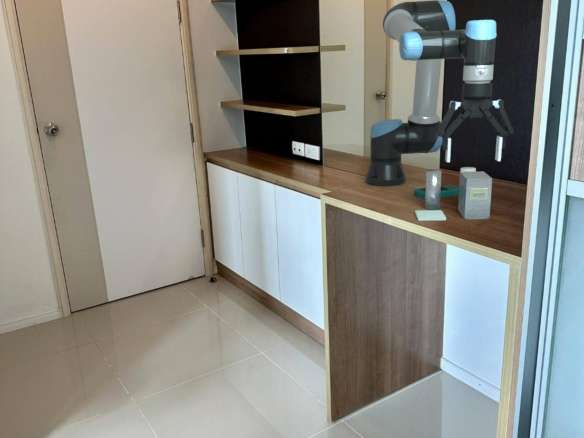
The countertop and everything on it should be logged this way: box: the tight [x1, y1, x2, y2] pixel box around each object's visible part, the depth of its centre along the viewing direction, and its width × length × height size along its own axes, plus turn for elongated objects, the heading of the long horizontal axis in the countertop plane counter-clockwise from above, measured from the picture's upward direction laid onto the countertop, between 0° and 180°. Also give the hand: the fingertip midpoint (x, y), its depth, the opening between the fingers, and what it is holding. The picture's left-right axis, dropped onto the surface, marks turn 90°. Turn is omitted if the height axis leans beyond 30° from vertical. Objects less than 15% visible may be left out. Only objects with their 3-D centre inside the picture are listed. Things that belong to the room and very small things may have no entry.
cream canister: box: [459, 166, 477, 173], centre depth 169 cm, size 5×5×12 cm
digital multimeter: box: [413, 184, 459, 201], centre depth 185 cm, size 7×15×3 cm, turn 107°
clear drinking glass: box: [424, 169, 442, 210], centre depth 168 cm, size 5×5×12 cm
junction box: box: [457, 170, 493, 220], centre depth 160 cm, size 11×7×12 cm, turn 174°
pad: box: [414, 209, 447, 222], centre depth 161 cm, size 8×8×1 cm
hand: (472, 161), depth 149 cm, fingers open, 13 cm apart
